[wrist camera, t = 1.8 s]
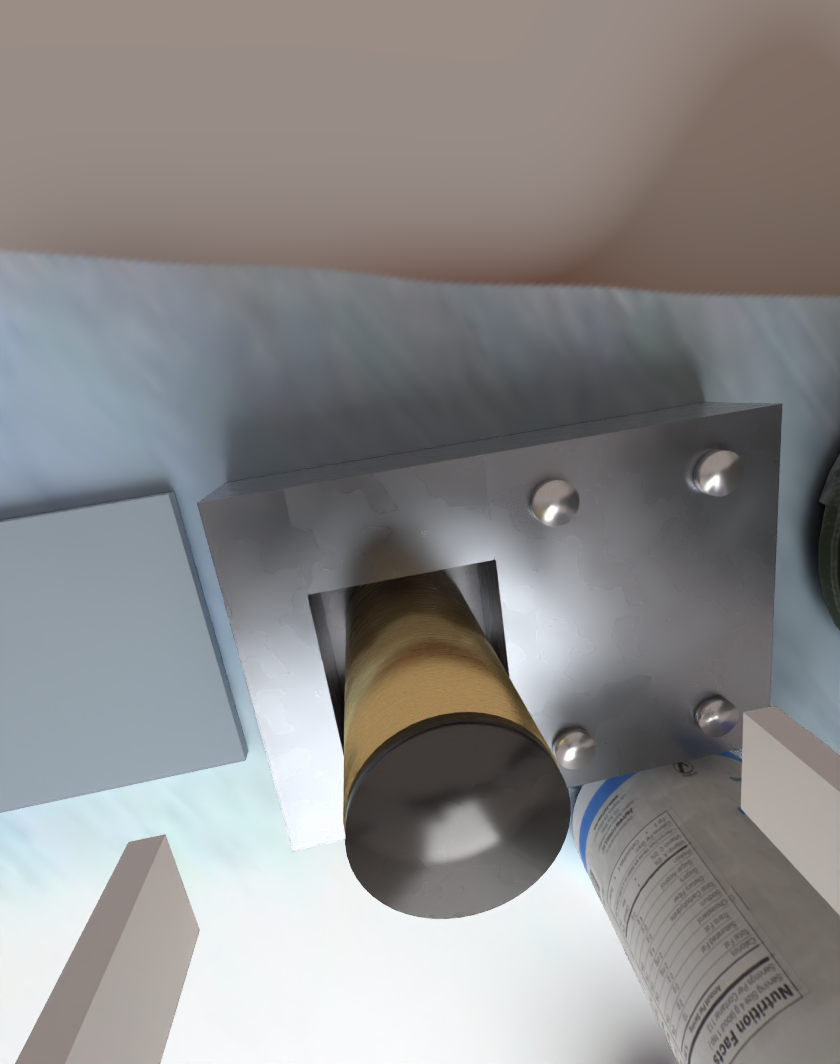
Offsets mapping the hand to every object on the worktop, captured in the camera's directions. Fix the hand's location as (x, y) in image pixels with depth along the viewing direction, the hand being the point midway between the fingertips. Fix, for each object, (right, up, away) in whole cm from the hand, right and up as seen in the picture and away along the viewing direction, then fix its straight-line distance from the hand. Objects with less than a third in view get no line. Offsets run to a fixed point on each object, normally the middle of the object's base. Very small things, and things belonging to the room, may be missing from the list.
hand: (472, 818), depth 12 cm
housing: (+2, +4, +11) cm, 12 cm away
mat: (-16, +1, +9) cm, 18 cm away
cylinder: (-2, +3, +10) cm, 11 cm away
